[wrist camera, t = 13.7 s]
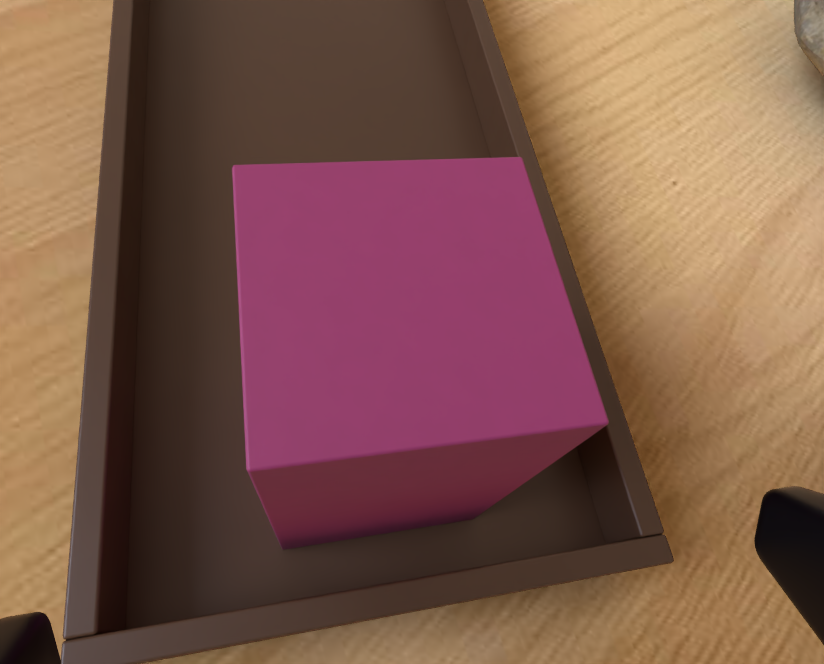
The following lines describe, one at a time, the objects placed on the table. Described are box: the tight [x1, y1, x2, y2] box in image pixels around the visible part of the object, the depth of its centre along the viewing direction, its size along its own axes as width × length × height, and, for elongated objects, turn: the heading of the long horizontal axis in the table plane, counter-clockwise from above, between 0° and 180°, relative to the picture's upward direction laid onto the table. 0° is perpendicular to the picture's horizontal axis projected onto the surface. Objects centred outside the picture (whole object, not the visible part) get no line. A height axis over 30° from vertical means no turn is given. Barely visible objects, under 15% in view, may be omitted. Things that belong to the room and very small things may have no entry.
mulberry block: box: [232, 157, 609, 550], centre depth 11 cm, size 5×5×8 cm
